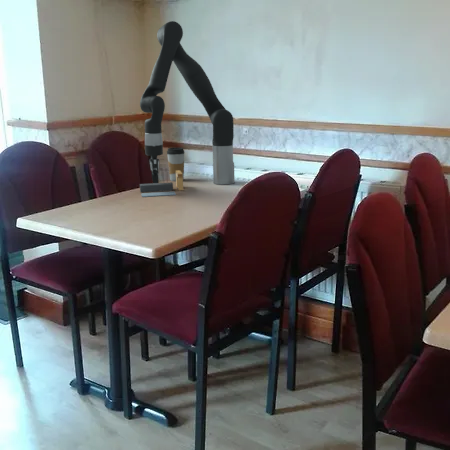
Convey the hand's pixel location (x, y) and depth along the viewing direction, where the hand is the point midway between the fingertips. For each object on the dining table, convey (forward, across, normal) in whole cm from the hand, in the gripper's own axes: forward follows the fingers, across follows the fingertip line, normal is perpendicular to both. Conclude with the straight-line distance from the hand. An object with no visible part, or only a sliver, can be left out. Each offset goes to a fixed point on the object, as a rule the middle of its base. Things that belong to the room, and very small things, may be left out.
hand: (155, 181), depth 248 cm
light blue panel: (+4, +10, +1) cm, 11 cm away
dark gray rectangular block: (+4, +1, 0) cm, 4 cm away
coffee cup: (+4, -23, +11) cm, 25 cm away
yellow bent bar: (+4, -1, +11) cm, 11 cm away
